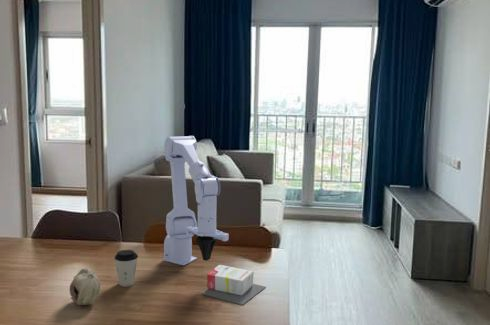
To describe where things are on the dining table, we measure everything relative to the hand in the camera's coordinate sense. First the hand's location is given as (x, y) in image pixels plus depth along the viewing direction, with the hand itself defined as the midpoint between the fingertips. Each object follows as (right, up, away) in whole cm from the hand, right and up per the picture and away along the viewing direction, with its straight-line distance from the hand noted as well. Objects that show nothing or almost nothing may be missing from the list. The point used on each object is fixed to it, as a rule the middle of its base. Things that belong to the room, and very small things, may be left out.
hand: (206, 259), depth 142 cm
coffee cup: (-25, -8, 0) cm, 26 cm away
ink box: (+2, -5, 0) cm, 5 cm away
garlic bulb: (-33, -10, -14) cm, 37 cm away
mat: (+9, -9, -4) cm, 13 cm away
